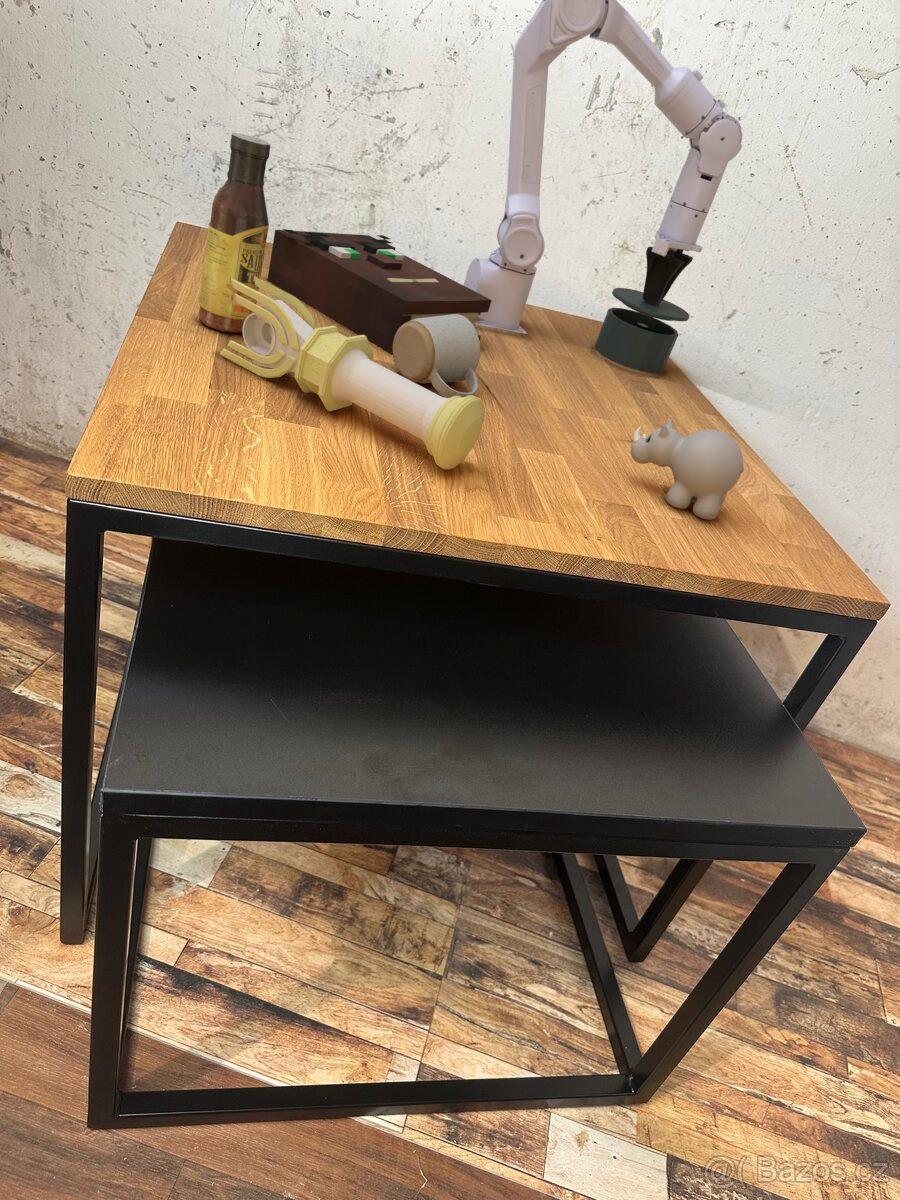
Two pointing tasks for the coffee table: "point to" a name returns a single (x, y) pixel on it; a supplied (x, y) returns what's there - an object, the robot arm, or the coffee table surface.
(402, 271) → the dark brown wooden box
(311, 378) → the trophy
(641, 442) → the chubby cartoon animal
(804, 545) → the coffee table surface
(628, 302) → the lid
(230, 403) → the coffee table surface
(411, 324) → the ceramic mug
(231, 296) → the sauce bottle
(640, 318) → the bowl
